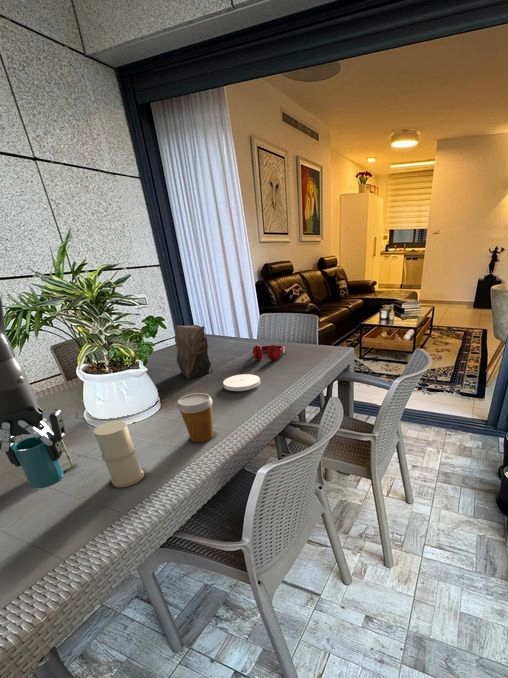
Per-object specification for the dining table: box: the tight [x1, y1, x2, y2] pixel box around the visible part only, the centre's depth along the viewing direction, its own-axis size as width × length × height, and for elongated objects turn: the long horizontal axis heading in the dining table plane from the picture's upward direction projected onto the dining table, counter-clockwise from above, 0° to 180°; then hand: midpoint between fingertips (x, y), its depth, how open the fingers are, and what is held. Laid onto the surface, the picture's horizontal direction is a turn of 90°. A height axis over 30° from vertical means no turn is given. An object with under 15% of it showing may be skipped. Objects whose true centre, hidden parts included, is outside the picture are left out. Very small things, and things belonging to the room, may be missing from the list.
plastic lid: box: [222, 373, 261, 392], centre depth 136 cm, size 14×14×2 cm
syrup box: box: [19, 418, 74, 473], centre depth 86 cm, size 6×6×14 cm
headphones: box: [251, 344, 286, 361], centre depth 171 cm, size 15×7×20 cm
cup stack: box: [93, 420, 145, 488], centre depth 82 cm, size 7×7×14 cm
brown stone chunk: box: [174, 324, 212, 380], centre depth 149 cm, size 13×13×20 cm
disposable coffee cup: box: [176, 392, 214, 443], centre depth 100 cm, size 10×10×12 cm
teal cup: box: [12, 437, 65, 489], centre depth 71 cm, size 6×6×9 cm
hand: (38, 461), depth 71 cm, fingers closed on teal cup, 6 cm apart
